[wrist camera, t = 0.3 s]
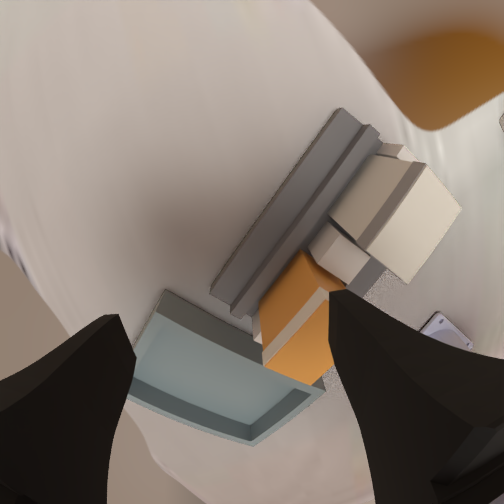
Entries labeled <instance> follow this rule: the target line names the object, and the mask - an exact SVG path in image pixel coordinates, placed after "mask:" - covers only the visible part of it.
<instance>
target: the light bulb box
mask: <svg viewBox="0 0 504 504" xmlns="http://www.w3.org/2000/svg"><path fill="white" fill-rule="evenodd" d="M500 124H501V127H502V129H503V131H504V114H503V116H502V117H501V119H500Z"/></svg>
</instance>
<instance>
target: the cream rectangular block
mask: <svg viewBox="0 0 504 504" xmlns="http://www.w3.org/2000/svg"><path fill="white" fill-rule="evenodd" d="M461 209H462V208H461V206H460V205H459V203H458V202H457V201H456V199H455V198H454V197H453V196H452V194H451V193H450V192H449V191H448V189H447V188H446V187H445V186H444V184H443V183H442V182H441V181H440V179H439V178H438V177H437V176H436V175H435V174H434V172H433V171H432V170H431V169H430V168H429V167H428V165H427V164H426V163H421V162H416V161H413V162H409V161H404V160H399V159H394V158H389V157H383V156H377V155H371V154H370V155H369V156H368V158H367V159H366V160H365V162H364V163H363V165H362V166H361V167H360V169H359V170H358V172H357V173H356V174H355V176H354V177H353V179H352V180H351V181H350V183H349V184H348V186H347V187H346V188H345V190H344V191H343V192H342V194H341V195H340V196H339V198H338V199H337V201H336V202H335V203H334V205H333V206H332V207H331V209H330V210H329V211H328V213H327V214H328V215H329V216H330V217H331V218H333V219H334V220H335V221H336V222H337V223H338V224H339V225H340V226H341V227H342V228H343V229H344V230H345V231H347V232H348V233H349V234H350V235H351V236H352V237H353V238H354V239H355V240H356V243H357V244H358V245H359V246H360V247H361V248H362V249H363V250H365V251H366V252H367V253H368V254H370V255H371V256H372V257H373V258H375V259H376V260H377V261H378V262H380V263H381V264H382V265H383V266H385V267H386V268H387V269H388V270H390V271H391V272H392V273H393V274H394V275H396V276H397V277H398V278H399V279H400V280H402V281H403V282H404V283H405V284H408V283H409V282H410V280H411V279H412V278H413V277H414V275H415V274H416V273H417V272H418V270H419V269H420V268H421V266H422V265H423V264H424V262H425V261H426V260H427V258H428V257H429V256H430V254H431V253H432V252H433V250H434V249H435V247H436V246H437V245H438V243H439V242H440V240H441V239H442V237H443V236H444V235H445V233H446V232H447V230H448V229H449V227H450V226H451V224H452V223H453V221H454V220H455V218H456V217H457V215H458V213H459V212H460V210H461Z"/></svg>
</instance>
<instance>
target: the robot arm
mask: <svg viewBox="0 0 504 504" xmlns="http://www.w3.org/2000/svg"><path fill="white" fill-rule="evenodd" d="M328 342H329V346H330V350H331V353H332V357H333V361H334V364H335V367H336V369H337V372H338V374H339V377H340V379H341V381H342V384H343V386H344V389H345V391H346V393H347V396H348V398H349V401H350V403H351V405H352V408H353V410H354V413H355V415H356V418H357V421H358V424H359V427H360V430H361V434H362V438H363V442H364V446H365V450H366V454H367V459H368V463H369V468H370V473H371V478H372V484H373V490H374V496H375V503H376V504H504V359H498V358H493V357H488V356H484V355H480V354H476V353H473V352H472V351H471V349H472V347H473V343H472V342H471V341H470V340H469V339H468V338H467V337H466V336H465V335H464V334H463V333H462V332H461V331H460V330H459V329H458V328H457V327H455V326H454V325H453V324H452V323H451V322H450V321H449V320H448V319H447V318H446V317H445V316H444V315H442V314H441V313H440V312H439V313H436V314H435V315H434V316H433V318H432V319H431V320H430V321H429V322H428V323H427V325H426V326H425V327H424V328H423V329H422V330H421V331H420V332H418V331H416V330H414V329H413V328H411V327H409V326H407V325H405V324H403V323H401V322H400V321H398V320H396V319H394V318H393V317H391V316H389V315H388V314H386V313H384V312H383V311H381V310H380V309H378V308H376V307H375V306H373V305H372V304H370V303H369V302H367V301H366V300H364V299H362V298H361V297H359V296H358V295H356V294H355V293H353V292H351V291H350V290H348V289H343V290H337V291H330V292H329V326H328ZM136 360H137V357H136V355H135V353H134V350H133V348H132V346H131V343H130V341H129V339H128V336H127V334H126V332H125V329H124V327H123V324H122V322H121V319H120V317H119V314H110V315H103V316H101V317H99V318H98V319H96V320H95V321H93V322H92V323H90V324H89V325H87V326H86V327H84V328H83V329H81V330H80V331H79V332H77V333H76V334H75V335H73V336H72V337H70V338H69V339H68V340H66V341H65V342H64V343H62V344H61V345H60V346H58V347H57V348H55V349H54V350H53V351H51V352H49V353H48V354H47V355H45V356H44V357H42V358H41V359H39V360H38V361H36V362H35V363H33V364H31V365H30V366H28V367H26V368H24V369H23V370H21V371H19V372H17V373H15V374H13V375H11V376H9V377H7V378H5V379H3V380H1V381H0V504H107V479H108V469H109V460H110V454H111V448H112V443H113V438H114V434H115V430H116V427H117V424H118V421H119V418H120V415H121V412H122V410H123V407H124V404H125V401H126V398H127V395H128V392H129V389H130V386H131V383H132V380H133V375H134V371H135V365H136Z"/></svg>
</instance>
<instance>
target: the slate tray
mask: <svg viewBox="0 0 504 504" xmlns="http://www.w3.org/2000/svg"><path fill="white" fill-rule="evenodd" d="M133 350H134V353H135V355H136V357H137V360H136V365H135V371H134V375H133V380H132V383H131V386H130V389H129V392H128V395H127V398H126V399H128V400H130V401H132V402H135V403H137V404H139V405H141V406H143V407H145V408H147V409H149V410H152V411H154V412H156V413H158V414H161V415H163V416H165V417H168V418H170V419H172V420H175V421H177V422H180V423H182V424H185V425H188V426H190V427H193V428H196V429H198V430H201V431H204V432H207V433H210V434H213V435H216V436H219V437H222V438H225V439H228V440H231V441H235V442H238V443H241V444H245V445H249V446H252V447H254V446H255V445H257V444H258V443H260V442H261V441H262V440H264V439H265V438H267V437H268V436H270V435H271V434H272V433H274V432H275V431H277V430H278V429H279V428H281V427H282V426H283V425H285V424H286V423H287V422H289V421H290V420H291V419H293V418H294V417H295V416H296V415H298V414H299V413H300V412H302V411H303V410H304V409H305V408H307V407H308V406H309V405H310V404H311V403H313V402H314V401H315V400H316V399H317V398H319V397H320V396H321V395H322V394H323V393H325V392H326V389H325V386H324V383H323V379H322V376H321V377H320V378H319V379H318V380H316V381H315V382H314V383H313V384H312V385H311V386H310V385H307V384H305V383H302V382H300V381H297V380H295V379H292V378H290V377H287V376H285V375H282V374H280V373H278V372H275V371H273V370H271V369H268V368H266V367H265V366H263V360H262V352H263V346H262V344H260V343H258V342H256V341H254V340H253V336H251V335H249V334H247V333H245V332H243V331H241V330H239V329H237V328H235V327H233V326H231V325H229V324H227V323H225V322H224V321H222V320H220V319H218V318H216V317H214V316H212V315H210V314H209V313H207V312H205V311H203V310H201V309H199V308H198V307H196V306H194V305H192V304H190V303H188V302H187V301H185V300H183V299H181V298H180V297H178V296H176V295H174V294H173V293H171V292H169V291H167V290H166V289H165V291H164V293H163V295H162V296H161V298H160V300H159V301H158V303H157V305H156V307H155V308H154V310H153V312H152V314H151V315H150V317H149V319H148V321H147V322H146V324H145V326H144V328H143V330H142V331H141V333H140V335H139V337H138V339H137V340H136V342H135V344H134V346H133Z"/></svg>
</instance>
